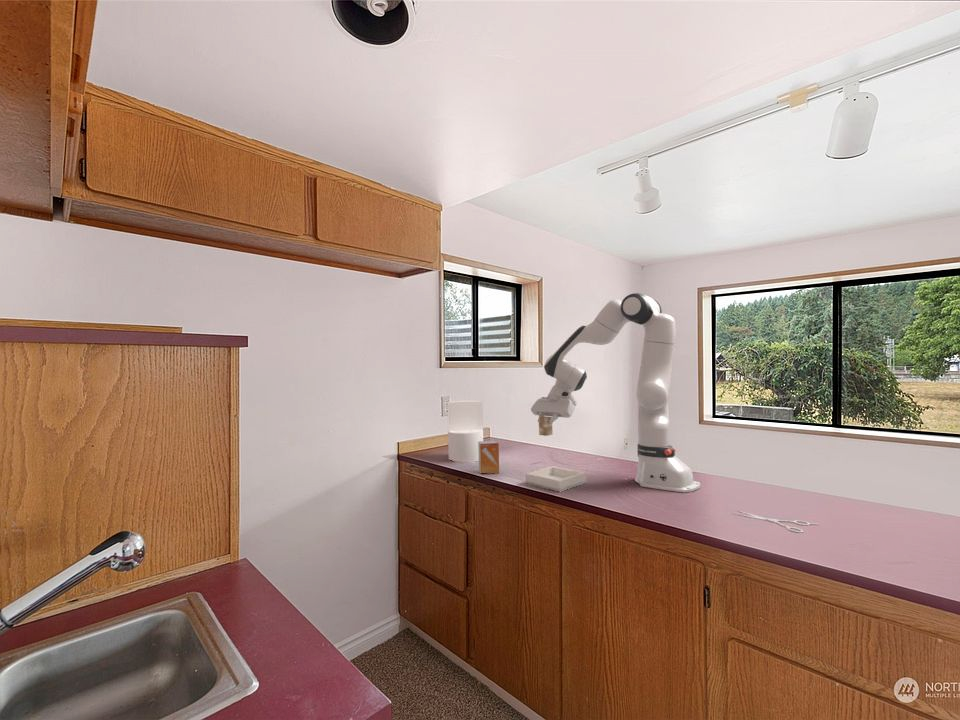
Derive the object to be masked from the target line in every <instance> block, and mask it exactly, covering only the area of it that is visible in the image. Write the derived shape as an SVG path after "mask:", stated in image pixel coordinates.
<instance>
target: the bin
mask: <svg viewBox="0 0 960 720" xmlns="http://www.w3.org/2000/svg"><path fill="white" fill-rule="evenodd" d="M586 476H587V475H586V472H583V471H577V470H572V469H568V468H564V467H558V466H554V465H551V466H548V467H545V468H541V469H537V470H533V471H531V472H526V473H525V484H526V485H529V486H532V485H533V487H536V486H537V487H536V488H541V489H544V488H545V490H548V489H551V490H550V491H552V490H555V491H554V492H556V491H559V492H558V493H561V492H560V491H562V492H564V491H563V490H565V491H568V490H570V488H571V489H574V488H576V486H577V487H579V485H580V486H582V485H585V484H587V483H586V481H587V477H586ZM573 487H574V488H573ZM567 489H568V490H567Z"/></svg>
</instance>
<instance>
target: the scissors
mask: <svg viewBox="0 0 960 720" xmlns="http://www.w3.org/2000/svg"><path fill="white" fill-rule="evenodd" d="M739 512H740V513H742V514H738V513H736V515H738V516H741V517H742V516H743V517H747V518H751V519H756V520H762V521H767V522H771V523H774V524H776V525H778V526H781V527H785V528H786V529H787V530H788V531H789V532H792V533H793V532H794V533H797V534H803V533H804V530H803V529H800V528H798V527H793V526H788V525H785V524H783V523H792V524H795V525H798V526H806V527H807V526H811V525H813V526H819V523H813V522H808V521H806V520H805V521H804V520H797V519H796V520H786V519H785V520H782V519H775V518H768V517H766V518H765V517H763V516H760V515H759V516H758V515H756V514H752V513H750V512H744V511H741V510H739ZM731 514H734V513H731ZM744 514H745V515H744ZM802 522H803V523H802ZM810 524H811V525H810Z"/></svg>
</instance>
